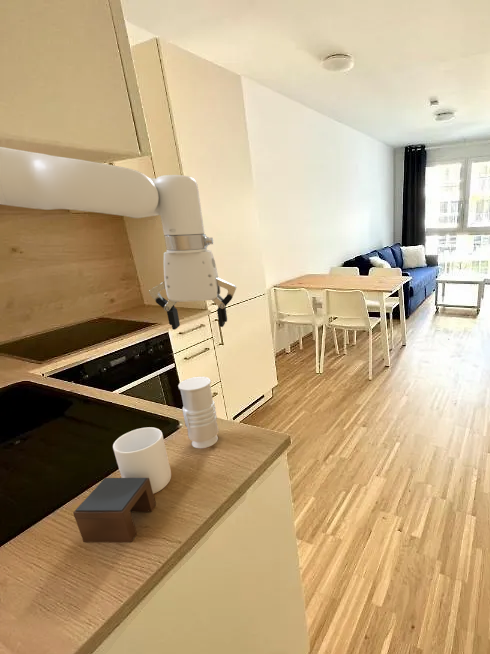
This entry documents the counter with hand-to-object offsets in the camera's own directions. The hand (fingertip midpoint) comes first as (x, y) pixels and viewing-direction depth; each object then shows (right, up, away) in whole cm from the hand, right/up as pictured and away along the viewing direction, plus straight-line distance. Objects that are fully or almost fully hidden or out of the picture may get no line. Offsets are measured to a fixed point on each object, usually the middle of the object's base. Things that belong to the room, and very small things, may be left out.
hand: (199, 326), depth 77 cm
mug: (-8, -31, -5) cm, 32 cm away
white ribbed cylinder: (-1, -27, +7) cm, 28 cm away
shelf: (-7, -35, -15) cm, 39 cm away
